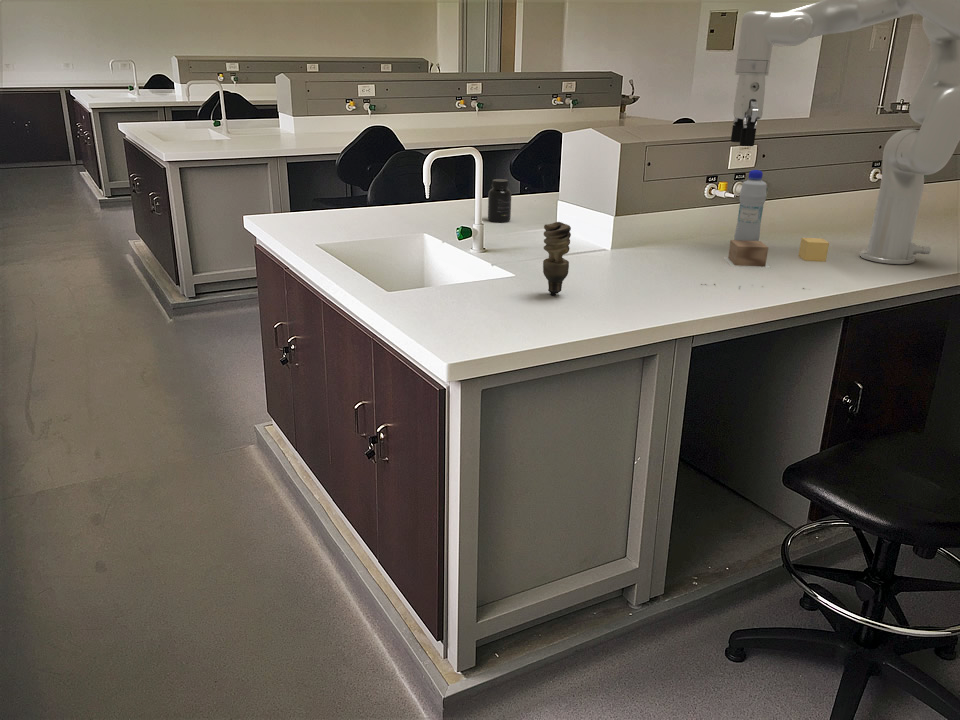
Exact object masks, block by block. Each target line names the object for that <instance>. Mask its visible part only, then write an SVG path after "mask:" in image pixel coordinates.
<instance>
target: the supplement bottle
mask: <svg viewBox="0 0 960 720" xmlns="http://www.w3.org/2000/svg"><path fill="white" fill-rule="evenodd" d="M491 182H492V183H491V187H492V188H491V189H490V190H489V191H488V196H487V197H488V199H487V200H488V201H487V202H488V203H487V220H488V221H489V222H491V223H497V224H503V223H509V222H510V221H511V216H512V213H511V212H512V192H511V191H512V190H510V189H509V180H508V179H504V178H503V179H502V178H496V179H492V180H491Z"/></svg>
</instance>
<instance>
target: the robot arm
mask: <svg viewBox="0 0 960 720" xmlns="http://www.w3.org/2000/svg"><path fill="white" fill-rule="evenodd" d="M910 15H918V16H919V15H920V16H921V17H922V30H923V32H924V34H925V36H926V37H927V40H928V41H929V45H930V51H931V52H930V58H929V59H930V60H929V62H928V64H927V67H926V68H925V69H926V70H925V71H924V74H923V76H922V78H921V81H920V83H919V84H918V86H917V89H916V91H915V93H914V95H913V97H912V99H911V102H910V103H909V109H908V113H909V117H910V119H911V120H912V121H913V122H915V123H917V124H919V125H921V127H920V128H919V129H914V128H913V129H912V128H911V129H910V128H907V129H906V128H905V129H902V130H900V131H897V132H896V133H894V134H893V135H891V136H890V137H889V139H888V140H887V141H886V143H885V145H884V148H883V153H882V171H881V179H880V184H879V185H880V186H879V191H878V195H877V199H876V205H875V209H874V210H875V211H874V215H873V219H872V220H873V221H872V225H871V230H870V235H869V239H868V245H867V249H862V250H860V251H859V256H861V259H864V260H867V261H871V262H875V263H881V264H890V265H910V264H913V263H915V259H916V255H917V254H921V255H929V254H930V253H931V246H929V245H928V246H927V245H925V246H921V245H919V244H915V242H913V237H914V232H915V228H916V223H917V219H918V214H919V209H920V206H921V201H922V197H923V192H924V186H925V176H928V175H933V174H935V173H937V172H939V171H940V170H942V169H943V168H944V167H946V165H947V164H948V162H949V161H950V159H951V157H952V156H953V154H954V152H955V150H956V149H957V146H958V144H959V143H960V0H820V1H817V2H814V3H810V4H807V5H803V6H801V7H797V8H793V9H789V10H787V11H782V12H781V11H780V12H779V11H778V12H773V11H770V10H769V11H768V10H752V11H751V10H750V11H747V12H745V13H744V14H743V16H742V18H741V23H740V25H741V26H740V31H739V32H740V33H739V38H738V39H739V41H738V45H737V46H738V48H737V53H736V54H737V55H736V63H735V71H734V75H735V76H737V75H738V79H737V83H736V90H735V96H734V103H733V113H732V114H733V116H734V119H733V121H732V124H733V125H732V127H731V128H732V129H731V130H732V131H731V134H730V135H731V136H730V142H732V143H739V146H741V147H754V146H755V141H756V133H757V126H758V123H757V122H758V121H760V120H761V119H762V117H763V112H764V111H763V110H764V102H765V92H766V91H765V90H766V76H769V72H770V65H771V64H770V63H771V57H772V51H773V46H774V47H775V46H776V47H778V48H779V47H781V48H782V47H783V48H784V47H796V46H800V45H802V44H804V43H806V42H807V41H809V39H812V38H815V37H816V38H817V37H820V36H825V35H831V34H839V33H847V32H852V31H857V30H860V29H864V28H866V27H867V28H868V27H870V26H873V25H877V24H880V23H884V22H888V21H891V20H892V21H893V20H895V19H899V18H902V17H905V16H910Z"/></svg>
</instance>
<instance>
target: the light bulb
mask: <svg viewBox="0 0 960 720" xmlns="http://www.w3.org/2000/svg"><path fill="white" fill-rule="evenodd" d="M543 229H544V230H545V231H544V232H543V236H544V237H545V239H543V243H544V244H545V245H544V246H543V250H544V251H546V253H548V258H545V259H543V260H542V261H543V263H542V273H543V276H544V277H545V278H546V280H547V284H548V289H547V291H548V292H549V294H550V296H556V295H557V294H559V293H560V292H562V288H563V287H562V286H563V281H565V279H566V278H567V276H568V274H569V269H570V261H569V260H568V259H565V258H563V256H564V255H566V254H568V253H569V252H570V249H571V248H570V246H569V245H570V244H571V236H572V233H571V229H572V228H571V226H570V224H567V223H564V222H562V221H561V222H560V221H555V222H552V223H549V224H547V223H546V224H544V225H543Z"/></svg>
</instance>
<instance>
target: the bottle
mask: <svg viewBox="0 0 960 720" xmlns="http://www.w3.org/2000/svg"><path fill="white" fill-rule="evenodd" d="M762 179H763V171H762V170H758V169H752V170H750V171H749V173H748V179H747V180H745V181H743V182H742V185H741V187H740V188H741V189H740V192H739V199H738V200H739V206H738V207H739V208H738V215H737V222H736V228H735V232H734V239H733V240H744V241H760V235H761V225H762V218H763V212H764V206H765V205H764V203H766V198H767V196H768V193H767V191H768V190H767V185H768V184H767V183H766V182H765V181H763V180H762Z"/></svg>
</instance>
